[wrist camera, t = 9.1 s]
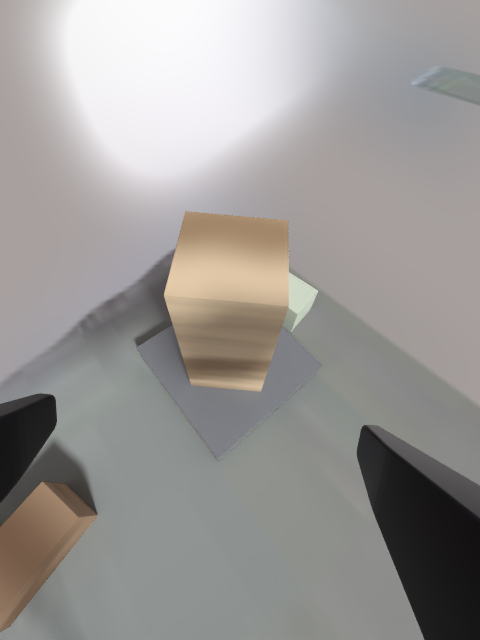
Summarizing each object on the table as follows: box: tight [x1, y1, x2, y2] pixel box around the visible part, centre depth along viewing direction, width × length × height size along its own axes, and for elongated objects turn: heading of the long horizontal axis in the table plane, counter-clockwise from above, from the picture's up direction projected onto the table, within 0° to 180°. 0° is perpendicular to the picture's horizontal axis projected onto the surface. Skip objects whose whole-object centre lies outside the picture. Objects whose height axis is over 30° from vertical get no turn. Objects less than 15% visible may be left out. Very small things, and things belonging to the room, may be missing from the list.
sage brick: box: [283, 273, 318, 332], centre depth 26 cm, size 6×3×3 cm, turn 50°
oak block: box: [164, 212, 289, 392], centre depth 18 cm, size 5×5×11 cm
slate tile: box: [136, 324, 322, 461], centre depth 23 cm, size 10×10×2 cm
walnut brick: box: [0, 481, 98, 632], centre depth 16 cm, size 6×3×3 cm, turn 145°
